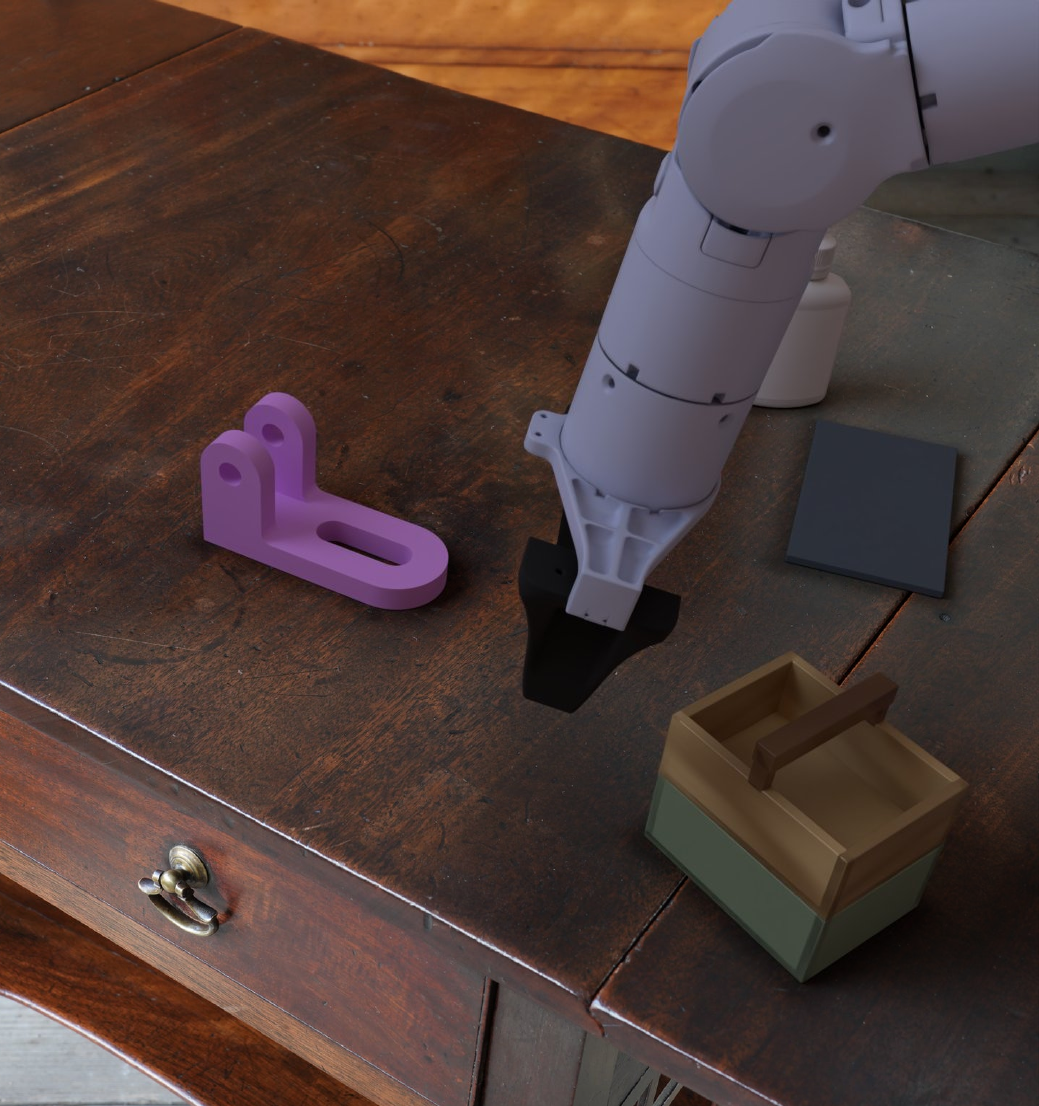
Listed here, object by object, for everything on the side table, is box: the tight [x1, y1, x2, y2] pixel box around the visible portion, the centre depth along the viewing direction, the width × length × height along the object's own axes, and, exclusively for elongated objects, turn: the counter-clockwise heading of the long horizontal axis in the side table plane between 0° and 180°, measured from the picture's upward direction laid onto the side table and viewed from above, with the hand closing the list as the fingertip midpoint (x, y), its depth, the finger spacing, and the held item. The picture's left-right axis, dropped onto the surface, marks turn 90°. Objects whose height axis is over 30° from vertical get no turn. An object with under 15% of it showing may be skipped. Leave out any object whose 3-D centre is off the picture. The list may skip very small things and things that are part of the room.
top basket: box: [658, 650, 971, 921], centre depth 58 cm, size 9×7×6 cm
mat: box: [784, 418, 958, 599], centre depth 82 cm, size 14×8×1 cm, turn 158°
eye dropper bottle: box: [752, 231, 852, 409], centre depth 87 cm, size 4×6×12 cm
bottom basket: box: [643, 773, 945, 984], centre depth 61 cm, size 9×7×4 cm
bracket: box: [199, 391, 449, 611], centre depth 76 cm, size 13×6×7 cm, turn 59°
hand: (564, 634), depth 58 cm, fingers open, 7 cm apart
